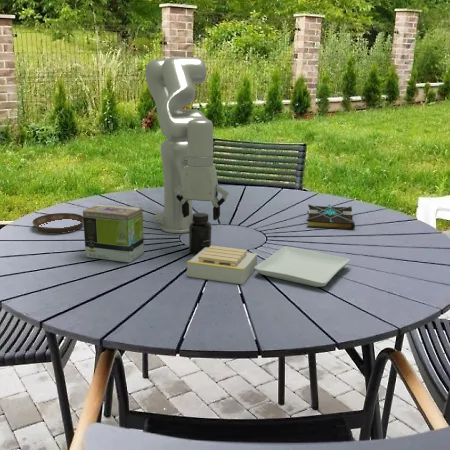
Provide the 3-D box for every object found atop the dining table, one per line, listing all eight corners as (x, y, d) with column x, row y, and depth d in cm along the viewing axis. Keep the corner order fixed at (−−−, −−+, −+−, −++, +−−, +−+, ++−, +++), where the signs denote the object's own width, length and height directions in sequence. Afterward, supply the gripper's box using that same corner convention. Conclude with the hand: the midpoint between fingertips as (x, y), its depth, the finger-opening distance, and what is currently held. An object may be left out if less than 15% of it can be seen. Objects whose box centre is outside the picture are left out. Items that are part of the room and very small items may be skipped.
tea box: (145, 253, 177) (143, 206, 172) (129, 264, 168) (127, 215, 163) (102, 247, 181) (99, 201, 177) (84, 257, 172) (81, 210, 168)
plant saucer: (89, 232, 196) (88, 224, 195) (35, 238, 190) (34, 229, 189) (81, 219, 212) (81, 211, 211) (31, 223, 205) (30, 215, 204)
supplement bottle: (208, 256, 174) (208, 218, 171) (186, 254, 176) (186, 217, 172) (213, 249, 181) (213, 212, 177) (192, 247, 182) (192, 211, 179)
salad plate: (324, 294, 149) (325, 282, 148) (252, 278, 159) (252, 266, 158) (350, 269, 167) (351, 257, 166) (283, 255, 177) (284, 245, 176)
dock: (187, 276, 159) (187, 257, 157) (205, 259, 172) (205, 242, 170) (242, 284, 154) (242, 265, 152) (256, 266, 167) (257, 248, 165)
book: (354, 231, 201) (355, 218, 200) (305, 229, 204) (306, 215, 202) (351, 215, 222) (352, 202, 220) (307, 212, 224) (308, 200, 223)
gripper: (168, 162, 169) (169, 218, 173) (223, 165, 164) (223, 223, 168) (178, 158, 176) (179, 212, 180) (232, 161, 170) (231, 217, 175)
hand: (200, 217), depth 174 cm, fingers open, 9 cm apart
